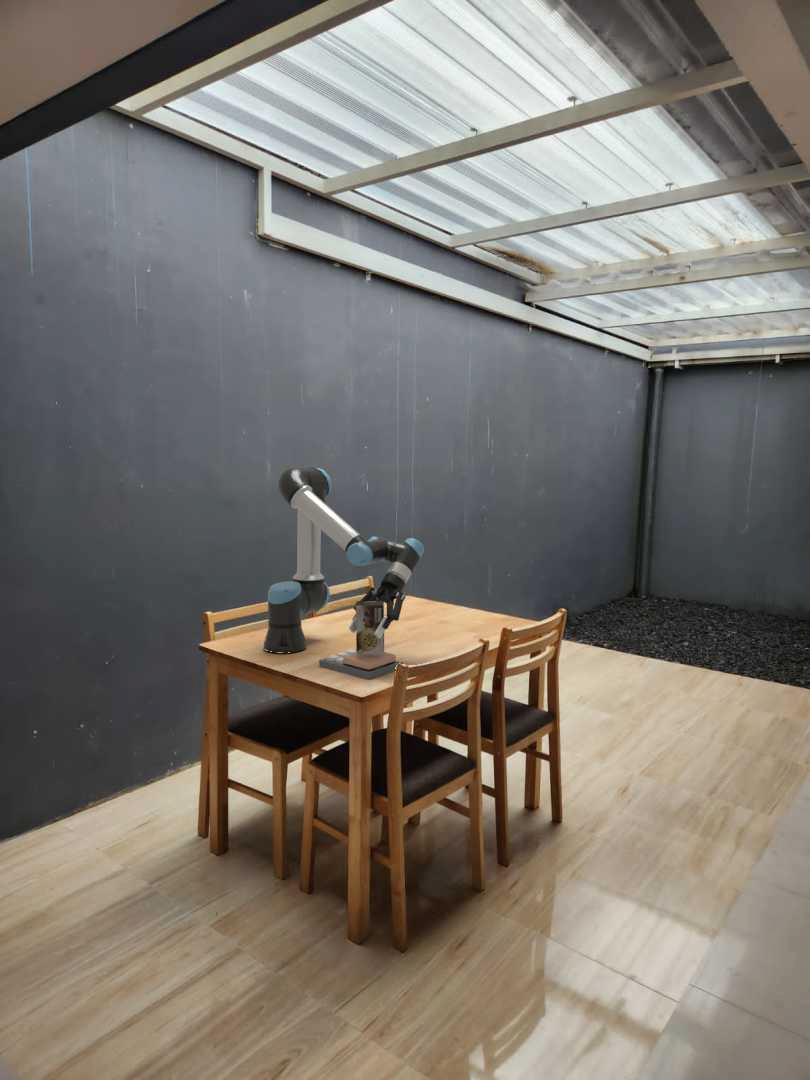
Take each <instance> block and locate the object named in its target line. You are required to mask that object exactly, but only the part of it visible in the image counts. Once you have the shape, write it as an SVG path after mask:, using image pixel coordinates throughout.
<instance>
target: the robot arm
mask: <svg viewBox="0 0 810 1080" xmlns="http://www.w3.org/2000/svg"><path fill="white" fill-rule="evenodd" d="M277 491H278V493H279V494H280V496H281V498H282V499H283V500H284V501H285V502H286V503H287V504H288V505H289V506H290V507H291V508H293V509H296V510H297V532H296V534H297V537H296V538H297V541H296V542H297V543H296V545H297V546H296V548H297V549H296V553H297V554H296V556H297V557H296V559H297V560H296V573H295V574H294V575H293V576H292V581H291V580H290V581H289V580H288V581H287V580H286V581H281V582H277V583H274V584H272V585H271V586H269V587H268V591H267V608H268V609H267V617H268V619H267V621H268V623H267V624H268V625H267V626H268V628H267V632H266V636H265V639H264V641H263V650H264V649H266V650H268V651H272V652H283V653H287V654H289V653H288V652H296V653H298V652H297V651H300V652H302V651H301V650H303V651H305V650H306V649H307V640H306V637H305V633H304V631H303V628H302V616H304V615H307V614H312V613H315V612H318V611H320V610H323V609H324V608H325V607H326V606H327V604H328V603H329V601H330V598H331V597H330V595H331V592H330V588H329V586H328V583H327V582H325V576H324V575H323V574H322V573H321V547H322V546H321V540H322V538H321V536H322V535H321V533H322V532H323V533H325V535H327V536H328V537H329V538H330V539H331V540H332V541H333V542H335V544H336V545H338V546H339V547H340V548H341V549H342V550H343V551H345V552H346V558H347V561H348V562H349V564H351V565H352V566H354V567H355V566H356V567H358V566H359V567H361V566H368V565H371V564H376V563H380V562H381V563H382V562H387V563H390V564H391V565H390V566H389V568H388V570H387V571H386V573H385V574H384V576H383V578H382V580H381V581H380V582H381V583H380V586H379V587H378V588H375V587H373V586H371V587H370V589H369V590H368V592H367V593H366V594H365V595H364V596H363V597H362V598H361V599H360V600H359V601H383V602H384V604H386V615H385V616H384V618H383V619H382V621H381V623H380V625H379V626H378V628H377V630H376V632H375V633H374V634H375V635H376V636H377V637H378V638H379V639H380V638H381V636H382V635H383V633H384V634H385V631H386V630H388V628H389V627H390V625H391V623H392V622H394V621H396V622H398V621H399V619H400V615H401V611H402V607H403V602H404V601H405V599H406V595H405V594H404V592H403V590H404V589H405V586H406V584H407V583H408V581H409V579H410V577H411V576H412V574H413V572H414V570H415V568H416V567H417V565H418V564H419V562H420V561H421V559H422V556H423V554H424V552H425V547H424V545H423V543H422V542H421V541H420V540H417V539H416V538H413V537H410V538H409V537H408V538H406V539H405V541H404V542H398V541H394V540H391V539H387V538H385V537H382V536H380V537H379V536H371V537H370V538H369V539H368V540H367V539H366V538H365V537H364V536H362V535H361V534H360V533H359V532H358V531H356V529H354V528H353V527H352V526H351V525H350V524H349V523H347V522H346V521H345V519H343V518H342V516H340V515H339V514H338V513H336V512H335V511H334V510H333V509H332V508H331V507H330V506H329V505H327V504H326V498H327V497H328V496H329V494H331V491H332V480H331V478H330V476H329V474H328V473H327V472H326V471H325V470H324V469H322V468H319V467H313V466H305V467H303V466H302V467H301V466H299V467H297V466H294V467H289V468H287V469H285V470H283V471H282V472H281V474H280V475H279V478H278V479H277ZM353 610H354V611H355V612H356V605H354V606H353ZM351 621H352V622H351V623H350V625H349V626H348V629H349V630H350V632H351V633H352V634H356V613H355V615H354V616H353V618H352V619H351ZM305 648H306V649H305ZM304 649H305V650H304Z"/></svg>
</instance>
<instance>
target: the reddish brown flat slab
mask: <svg viewBox="0 0 810 1080" xmlns="http://www.w3.org/2000/svg"><path fill="white" fill-rule="evenodd" d="M396 657H397V655H396V654H393V653H390V652H385V651H384V654H356V653H355V654H352V655H349V656H345V657H343V663H345V664H349V665H353V666H356V667H360V668H364V669H368V670H370V669H373V668H376V667H379V666H382V665H385V664H388V663H391V662H394V661H397V658H396Z"/></svg>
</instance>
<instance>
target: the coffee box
mask: <svg viewBox="0 0 810 1080" xmlns="http://www.w3.org/2000/svg"><path fill="white" fill-rule="evenodd" d="M355 606H356V611H355V614H356V631H355V635H356V636H355V637H356V638H355V642H356V643H355V644H356V645H355V646H356V647H355V650H356V654H384V652H385V632H384V633H383V635H382V636H381V638H380V639H379V638H378V637H377V636H376V635H375V634H374V633H375V632H376V630H377V628H378V626H379V625H380V623H381V621H382V619H383V618H384V617H385V602H383V601H360V600H359V601H358V600H356V603H355Z"/></svg>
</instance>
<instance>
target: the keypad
mask: <svg viewBox="0 0 810 1080" xmlns="http://www.w3.org/2000/svg"><path fill="white" fill-rule="evenodd" d="M355 653H356V649H348V650H346V651H345V652H344V651H341V652H338V653H336V654H330V655H327V656H326V657H324V658H322V659H321V658H320V659H319V660H318V661H319V665H318V666H319V667H321V666H322V668H326V669H329V670H332V671H337V672H339V673H343V674H347V675H351V676H353V677H354V676H355V677H358V678H362V679H366V680H369V681H370V680H372V679H376V678H377V677H381V676H383V675H387V674H389V673H393V672H395V671H394V670H395V667H396V665H397V664H399V663H402V664H403V662H402V661H399V660H396V661H394V662H391V663H388V664H385V665H382V666H379V667H376V668H373V669H370V670H368V669H364V668H360V667H356V666H353V665H349V664H345V663H343V657H345V656H349V655H352V654H355Z"/></svg>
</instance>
